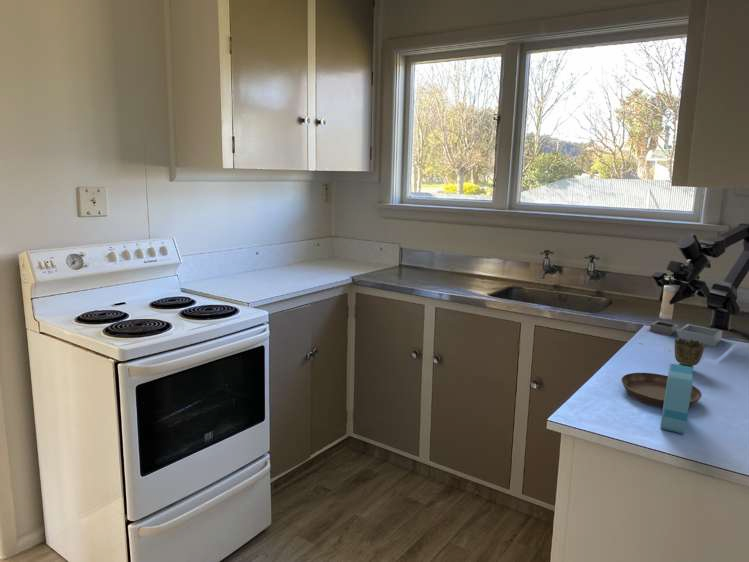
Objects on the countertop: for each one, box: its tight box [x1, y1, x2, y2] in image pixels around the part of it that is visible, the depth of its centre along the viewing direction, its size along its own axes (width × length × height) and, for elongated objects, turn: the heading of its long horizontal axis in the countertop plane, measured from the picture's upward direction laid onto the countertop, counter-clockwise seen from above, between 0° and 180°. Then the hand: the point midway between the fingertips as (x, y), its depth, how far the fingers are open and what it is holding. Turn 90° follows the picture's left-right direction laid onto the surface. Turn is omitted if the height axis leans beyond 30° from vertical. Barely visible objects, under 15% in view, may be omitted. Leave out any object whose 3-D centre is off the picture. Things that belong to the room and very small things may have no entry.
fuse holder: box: [645, 320, 679, 338], centre depth 193 cm, size 9×9×4 cm
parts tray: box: [677, 323, 724, 347], centre depth 186 cm, size 10×10×4 cm
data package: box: [660, 363, 694, 435], centre depth 123 cm, size 12×4×12 cm, turn 151°
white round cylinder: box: [659, 285, 678, 320], centre depth 191 cm, size 4×4×11 cm
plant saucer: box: [620, 372, 703, 408], centre depth 139 cm, size 18×18×3 cm
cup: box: [674, 338, 706, 369], centre depth 159 cm, size 8×7×8 cm
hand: (665, 302), depth 191 cm, fingers closed on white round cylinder, 4 cm apart
